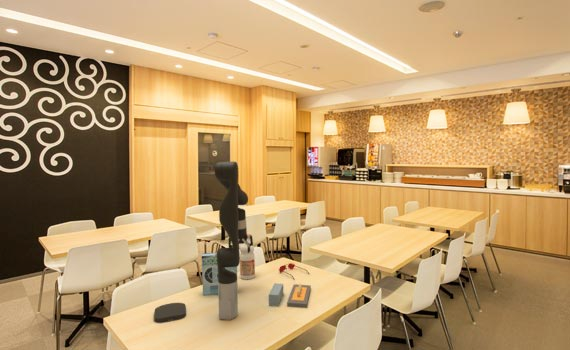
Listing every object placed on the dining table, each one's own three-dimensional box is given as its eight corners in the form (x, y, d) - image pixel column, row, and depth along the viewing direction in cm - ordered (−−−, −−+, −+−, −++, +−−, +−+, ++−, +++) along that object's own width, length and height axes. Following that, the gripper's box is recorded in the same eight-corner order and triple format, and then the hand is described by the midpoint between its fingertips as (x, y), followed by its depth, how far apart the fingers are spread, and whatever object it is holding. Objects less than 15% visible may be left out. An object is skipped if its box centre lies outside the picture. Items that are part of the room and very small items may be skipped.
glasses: (293, 268, 221) (293, 261, 221) (310, 275, 209) (310, 267, 208) (278, 273, 213) (278, 266, 212) (294, 280, 200) (294, 272, 200)
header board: (306, 307, 162) (306, 297, 162) (287, 306, 164) (287, 295, 164) (310, 288, 186) (310, 279, 186) (293, 287, 188) (293, 278, 187)
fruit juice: (237, 276, 207) (236, 234, 206) (250, 273, 212) (249, 232, 211) (244, 281, 199) (243, 236, 198) (257, 277, 204) (256, 234, 203)
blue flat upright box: (237, 289, 186) (236, 251, 185) (237, 293, 181) (236, 253, 180) (203, 292, 183) (202, 252, 182) (202, 295, 178) (201, 255, 177)
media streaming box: (155, 311, 162) (154, 305, 162) (185, 306, 167) (184, 300, 167) (154, 324, 148) (153, 318, 148) (186, 318, 153) (186, 312, 153)
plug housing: (278, 306, 164) (278, 295, 164) (268, 305, 165) (268, 294, 165) (285, 289, 185) (285, 279, 185) (276, 289, 186) (276, 279, 185)
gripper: (227, 229, 181) (229, 256, 183) (252, 227, 183) (253, 254, 186) (227, 225, 188) (228, 252, 190) (251, 223, 191) (252, 249, 193)
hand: (241, 253), depth 188 cm, fingers open, 8 cm apart
